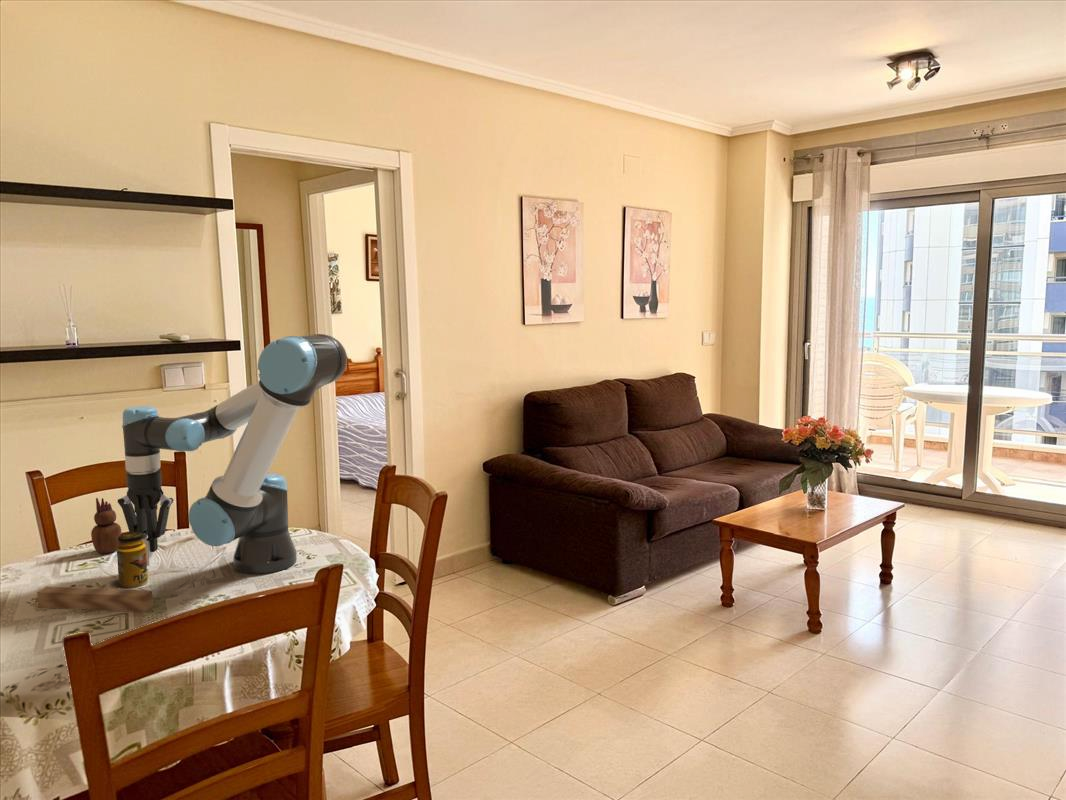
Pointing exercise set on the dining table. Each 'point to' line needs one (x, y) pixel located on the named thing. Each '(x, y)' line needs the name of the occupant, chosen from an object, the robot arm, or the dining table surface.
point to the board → (95, 599)
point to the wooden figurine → (105, 529)
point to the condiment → (131, 562)
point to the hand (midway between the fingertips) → (149, 563)
